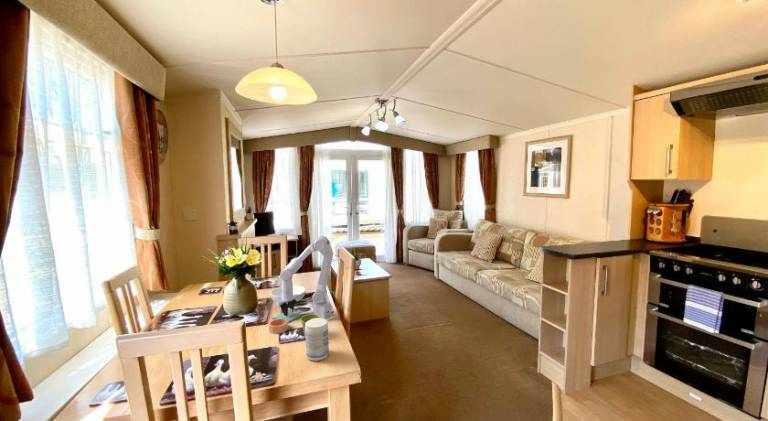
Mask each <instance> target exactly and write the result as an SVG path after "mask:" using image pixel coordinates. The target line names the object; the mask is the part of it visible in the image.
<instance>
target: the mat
mask: <svg viewBox="0 0 768 421" xmlns="http://www.w3.org/2000/svg"><path fill="white" fill-rule="evenodd" d="M302 314H303V315H302V316H301V317H303V316H305V315H306V314H304V313H302ZM301 317H299V318H297V319H295V320H293V321H291V322H289V323H288V325H289V324H291V323H293V322H295V321H297V320H299V319H301ZM270 319H271V320H275V319H274V318H273V317H271V318H270Z"/></svg>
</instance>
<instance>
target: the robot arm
mask: <svg viewBox="0 0 768 421" xmlns="http://www.w3.org/2000/svg"><path fill="white" fill-rule="evenodd" d="M314 252H319V253H320V254H321V255H322V256H323V257H322V258H323V259H322V264H321V267H320V268H321V269H320V272H319V277H318V281H317V286H316V288H315V292H314V293H313V294H312V297H311V298H312V302H313V303H312V305H313V306H312V307H313V314H317V315H319V316H320V318H323V319H326V320H327V321H328V320H329V319H330V318H332V317H333V314H332V313H333V312H332V311H333V310H332V304H331V303H329V302H328V300H327V297H326V296H327V294H328V291H327V284H328V280H329V275H330V271H331V266H332V263H333V259H334V258H333V257H334V251H333V248H332V245H331V242H330V240H329V239H328V238H327V236H324V235H321V236H319V237H317V239H314V241H313V242H311V243H310V244H309V245H308V246H306V248H305V249H304V251H302V252H301V254H300V255H299V256H298V257H293V258H292V259H291V260H290V262H289V263H288V264H287V265H285V266H284V269H282V270H281V271H280V274H279V278H280V279H281V287H282V297H281V298H282V299H280V300H279V301H278V302H275V306H276V307H280V309H281V311H282V313H283V314H284V316H288V308H290V309H292V313H293V311H294V309H295V307H296V306H295V305H296V304H297V302H296V300H295V299H296V298H299V294H294V295H293V286H294V285H293V284H294V283H293V276H294V275H295V274H296V272H297V271H298V270H299V269H300V268H301V267H302V266H303V261H305V259H306V258H307V257H308V256H309V255H311V253H314ZM286 302H287V303H288V304H287V303H286Z"/></svg>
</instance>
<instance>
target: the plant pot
mask: <svg viewBox="0 0 768 421" xmlns="http://www.w3.org/2000/svg"><path fill="white" fill-rule="evenodd" d="M304 315H305V316H303V317H301V318H299V319H300V322H301V324H302V330H303V336H304V337H305V338H306V336H305V324H306V322H307V321H309V320H311V319H315V318H320V316H319V315H317V314H314V313H310V314H309V313H308V314H304Z"/></svg>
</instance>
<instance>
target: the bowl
mask: <svg viewBox="0 0 768 421" xmlns="http://www.w3.org/2000/svg"><path fill="white" fill-rule="evenodd" d="M288 329H289V324H288V321H287V319H275V320H273V319H271V320H270V321H269V322H268V332H269V333H270V334H274V335H279V334H282V333H285V332H287V331H288Z"/></svg>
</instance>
